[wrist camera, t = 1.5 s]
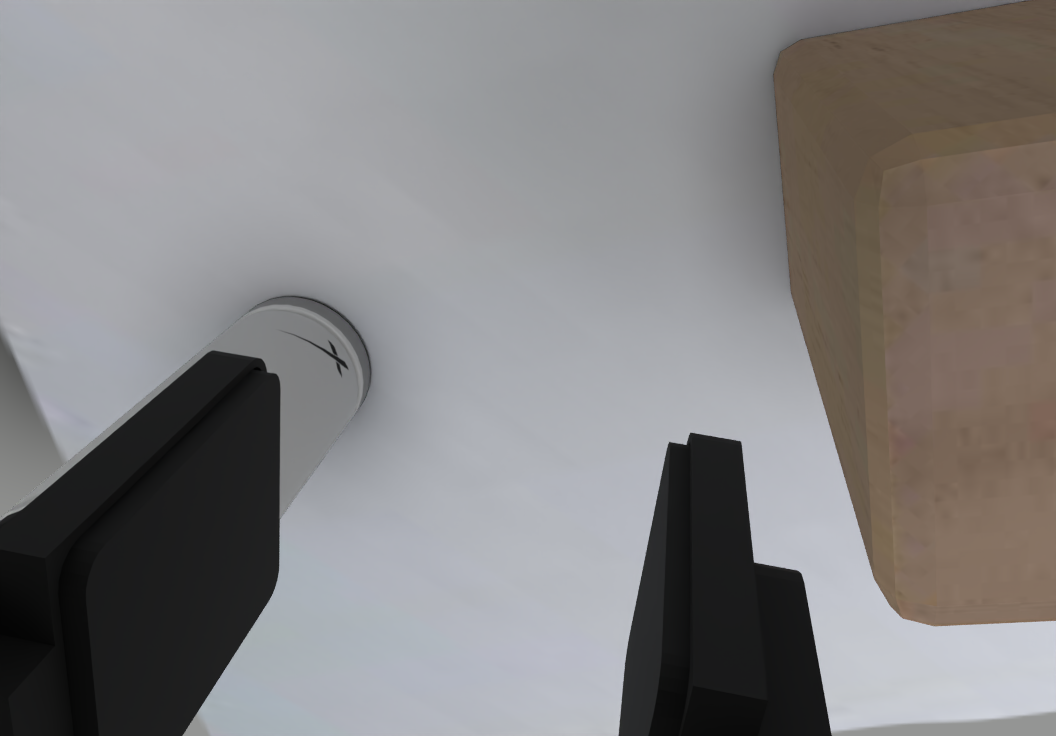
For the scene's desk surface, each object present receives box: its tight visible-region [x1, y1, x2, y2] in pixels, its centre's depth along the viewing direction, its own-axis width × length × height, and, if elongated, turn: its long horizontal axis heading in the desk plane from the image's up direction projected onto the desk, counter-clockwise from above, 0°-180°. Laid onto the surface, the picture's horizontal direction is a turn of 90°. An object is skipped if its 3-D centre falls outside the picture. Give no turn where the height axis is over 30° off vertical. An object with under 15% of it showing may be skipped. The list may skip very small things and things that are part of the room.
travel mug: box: [0, 297, 370, 528], centre depth 33 cm, size 6×7×20 cm
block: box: [773, 0, 1056, 626], centre depth 25 cm, size 10×10×20 cm
